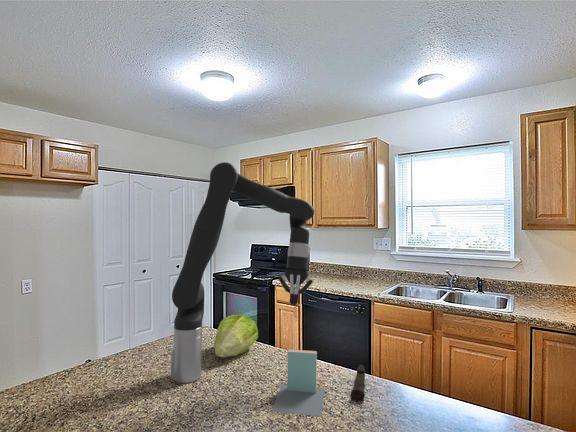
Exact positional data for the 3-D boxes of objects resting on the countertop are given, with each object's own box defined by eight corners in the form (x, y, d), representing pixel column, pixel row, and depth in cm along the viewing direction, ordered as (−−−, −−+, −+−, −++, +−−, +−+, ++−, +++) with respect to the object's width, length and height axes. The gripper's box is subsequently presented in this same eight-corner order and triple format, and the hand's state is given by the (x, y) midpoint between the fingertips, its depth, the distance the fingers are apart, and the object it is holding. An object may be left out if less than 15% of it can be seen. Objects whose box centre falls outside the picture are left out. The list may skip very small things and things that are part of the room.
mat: (271, 413, 93) (271, 411, 93) (281, 386, 109) (281, 384, 109) (321, 418, 91) (321, 416, 91) (324, 390, 107) (324, 388, 107)
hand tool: (364, 404, 99) (364, 388, 99) (350, 402, 100) (350, 386, 100) (370, 377, 117) (370, 364, 117) (358, 375, 118) (358, 362, 118)
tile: (287, 390, 105) (287, 351, 106) (288, 387, 107) (288, 349, 108) (316, 392, 104) (316, 353, 104) (316, 389, 106) (316, 351, 106)
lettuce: (196, 364, 128) (200, 328, 126) (225, 336, 151) (229, 305, 149) (237, 376, 124) (241, 340, 122) (261, 345, 147) (264, 314, 145)
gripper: (277, 253, 120) (272, 303, 117) (314, 256, 117) (310, 307, 114) (282, 255, 127) (278, 302, 124) (317, 258, 124) (313, 306, 121)
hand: (293, 305), depth 119 cm, fingers closed
